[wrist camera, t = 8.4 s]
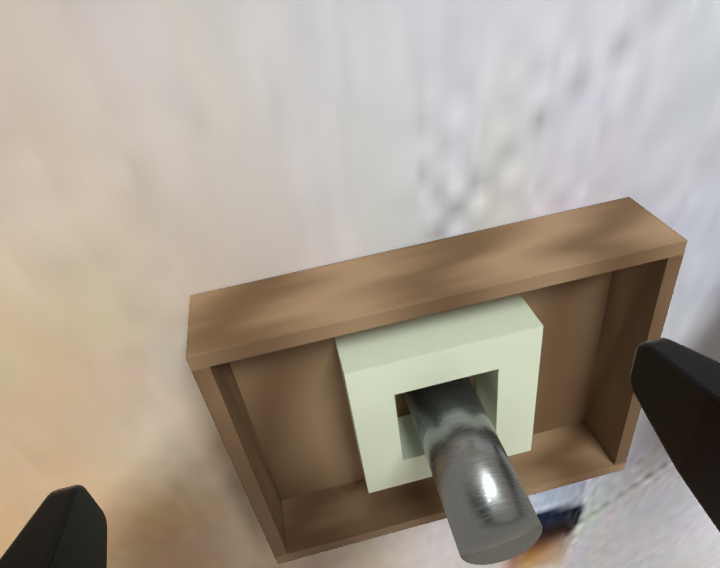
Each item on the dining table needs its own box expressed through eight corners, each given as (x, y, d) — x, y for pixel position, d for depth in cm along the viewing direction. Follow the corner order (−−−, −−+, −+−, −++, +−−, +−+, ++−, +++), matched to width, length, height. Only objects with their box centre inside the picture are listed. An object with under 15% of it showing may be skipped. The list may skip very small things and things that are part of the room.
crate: (629, 197, 22) (687, 240, 20) (587, 417, 31) (623, 469, 28) (190, 295, 21) (186, 358, 18) (272, 499, 29) (277, 563, 26)
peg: (462, 345, 24) (544, 507, 18) (463, 390, 26) (539, 550, 20) (397, 361, 24) (458, 530, 18) (403, 405, 26) (460, 572, 20)
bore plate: (516, 290, 23) (543, 325, 21) (509, 412, 28) (530, 450, 26) (333, 333, 23) (344, 374, 21) (358, 451, 27) (368, 493, 25)
